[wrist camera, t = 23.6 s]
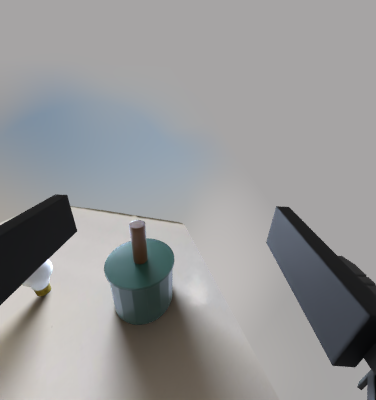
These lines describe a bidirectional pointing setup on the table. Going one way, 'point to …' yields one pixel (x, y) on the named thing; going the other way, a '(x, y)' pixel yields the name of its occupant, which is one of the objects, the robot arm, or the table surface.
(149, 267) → the lid
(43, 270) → the light bulb
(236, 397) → the table surface
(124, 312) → the canister
